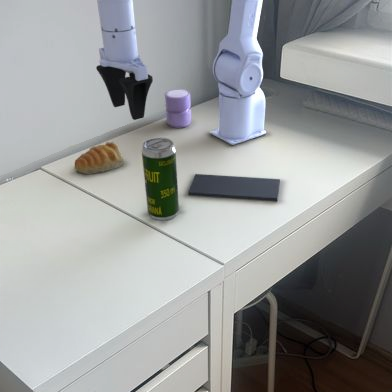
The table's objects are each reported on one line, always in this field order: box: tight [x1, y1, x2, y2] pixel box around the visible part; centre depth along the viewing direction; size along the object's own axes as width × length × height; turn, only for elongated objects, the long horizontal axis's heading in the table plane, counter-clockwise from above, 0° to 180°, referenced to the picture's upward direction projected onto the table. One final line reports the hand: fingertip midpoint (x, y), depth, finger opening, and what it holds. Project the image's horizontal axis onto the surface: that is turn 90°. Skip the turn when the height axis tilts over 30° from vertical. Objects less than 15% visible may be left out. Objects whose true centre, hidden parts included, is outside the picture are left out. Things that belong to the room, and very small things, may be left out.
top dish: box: [164, 88, 192, 113], centre depth 111 cm, size 6×6×3 cm
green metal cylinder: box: [141, 137, 180, 221], centre depth 83 cm, size 5×5×12 cm
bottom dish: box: [165, 107, 192, 129], centre depth 113 cm, size 6×6×3 cm
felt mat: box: [187, 173, 281, 202], centre depth 92 cm, size 16×7×1 cm, turn 80°
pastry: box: [74, 141, 125, 175], centre depth 99 cm, size 9×7×4 cm
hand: (128, 111), depth 94 cm, fingers open, 7 cm apart
